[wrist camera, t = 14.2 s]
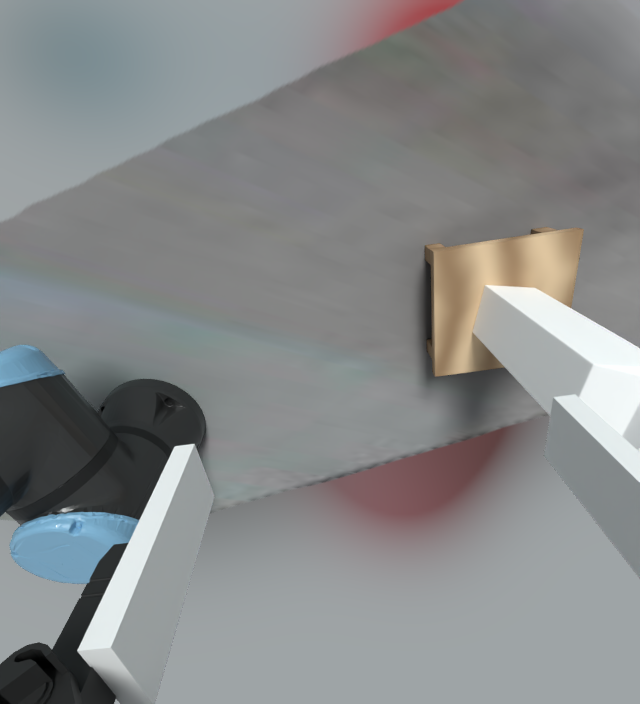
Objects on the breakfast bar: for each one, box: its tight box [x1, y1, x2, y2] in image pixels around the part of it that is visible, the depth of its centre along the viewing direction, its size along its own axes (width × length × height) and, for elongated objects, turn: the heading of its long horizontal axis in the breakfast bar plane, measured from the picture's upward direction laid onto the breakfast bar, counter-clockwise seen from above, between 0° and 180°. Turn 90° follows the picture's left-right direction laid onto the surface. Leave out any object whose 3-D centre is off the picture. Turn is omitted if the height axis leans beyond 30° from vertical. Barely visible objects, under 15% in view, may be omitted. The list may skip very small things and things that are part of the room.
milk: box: [473, 285, 640, 451], centre depth 35 cm, size 6×6×22 cm
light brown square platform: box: [425, 227, 584, 377], centre depth 47 cm, size 16×16×6 cm
